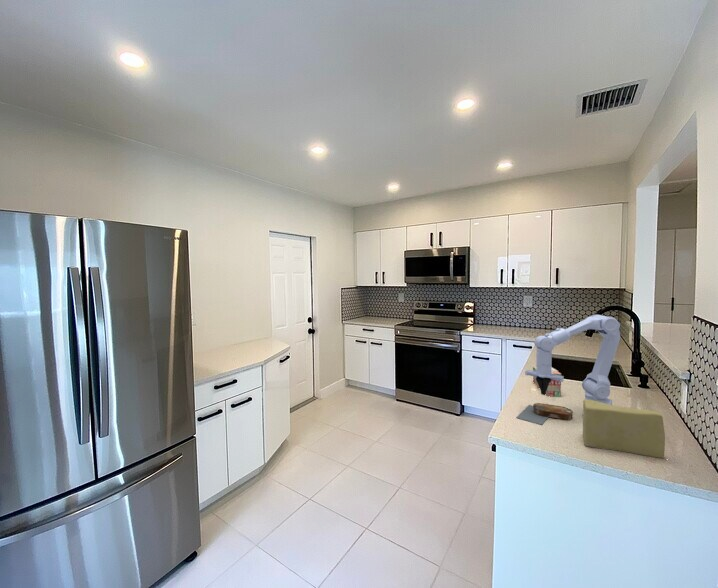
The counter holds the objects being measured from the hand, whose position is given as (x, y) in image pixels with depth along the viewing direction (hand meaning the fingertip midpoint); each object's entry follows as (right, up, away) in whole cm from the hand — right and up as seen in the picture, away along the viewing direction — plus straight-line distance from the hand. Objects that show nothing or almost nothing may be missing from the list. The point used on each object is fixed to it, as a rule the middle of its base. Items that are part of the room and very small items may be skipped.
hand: (543, 394), depth 139 cm
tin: (+2, -8, -4) cm, 9 cm away
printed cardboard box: (+19, -8, +31) cm, 38 cm away
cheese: (+12, -11, -27) cm, 31 cm away
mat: (-3, -9, +1) cm, 10 cm away
